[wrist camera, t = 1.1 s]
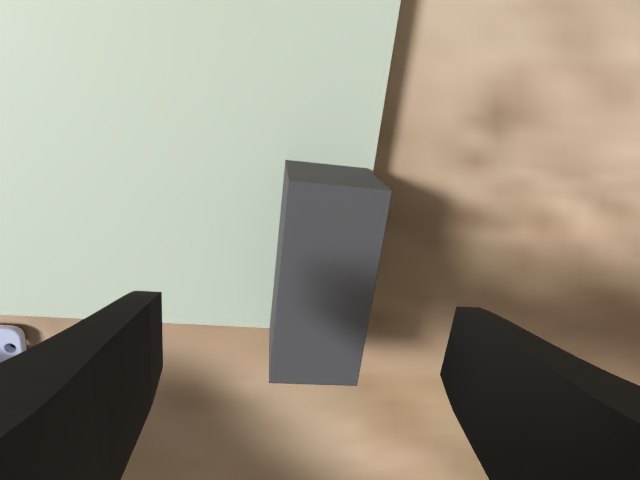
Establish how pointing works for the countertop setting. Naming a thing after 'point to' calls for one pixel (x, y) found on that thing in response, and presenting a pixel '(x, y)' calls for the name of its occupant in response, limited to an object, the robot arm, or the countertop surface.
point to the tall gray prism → (325, 272)
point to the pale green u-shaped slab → (172, 144)
